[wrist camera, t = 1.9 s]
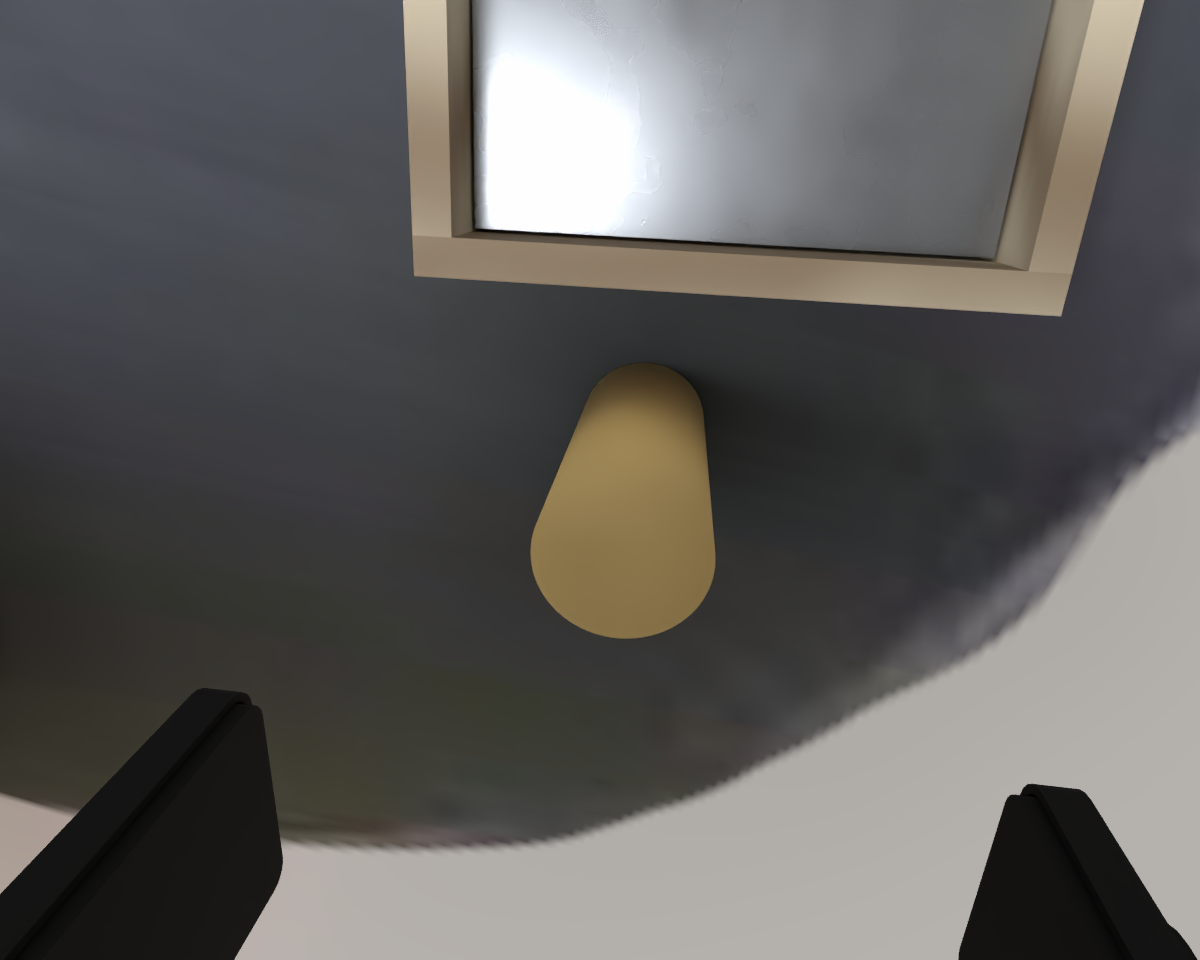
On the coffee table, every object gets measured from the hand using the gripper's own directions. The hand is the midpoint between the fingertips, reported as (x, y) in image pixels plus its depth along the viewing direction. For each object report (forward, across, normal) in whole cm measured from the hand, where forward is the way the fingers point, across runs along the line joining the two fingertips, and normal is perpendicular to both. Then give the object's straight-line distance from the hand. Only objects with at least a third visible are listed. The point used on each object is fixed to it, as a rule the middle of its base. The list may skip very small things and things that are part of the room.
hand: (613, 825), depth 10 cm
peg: (+18, +1, 0) cm, 18 cm away
